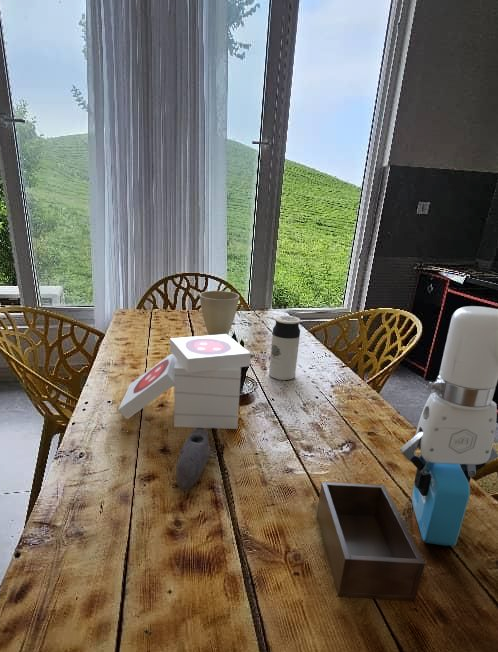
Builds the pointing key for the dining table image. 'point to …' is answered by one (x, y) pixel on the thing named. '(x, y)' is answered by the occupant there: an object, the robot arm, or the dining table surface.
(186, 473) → the perforated stone tool
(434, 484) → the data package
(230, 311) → the plant pot
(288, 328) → the travel mug
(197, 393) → the pizza boxes
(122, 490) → the dining table surface
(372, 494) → the box
